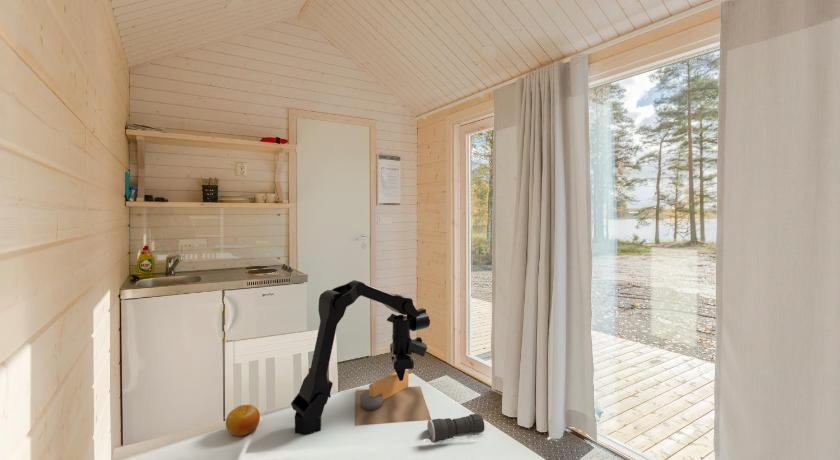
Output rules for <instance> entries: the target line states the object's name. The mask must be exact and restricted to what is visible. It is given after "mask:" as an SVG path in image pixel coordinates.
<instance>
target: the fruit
mask: <svg viewBox="0 0 840 460" xmlns="http://www.w3.org/2000/svg"><path fill="white" fill-rule="evenodd" d="M260 420H261V415H260V411H259V409H258V407H256V406H255V405H252V404H242V405H241V404H240V405H239V406H236V407H235V408H233V409H232V410H231V411H230V412H229V413H228V414H227V416H226V419H225V427H226V429H227V432H229V434H232V435H233V436H237V437H238V436H239V437H240V436H241V437H243V436H246V435H248V434H251V433H253V431H255V429H256V428H257V427H258V426H259V422H260Z"/></svg>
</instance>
